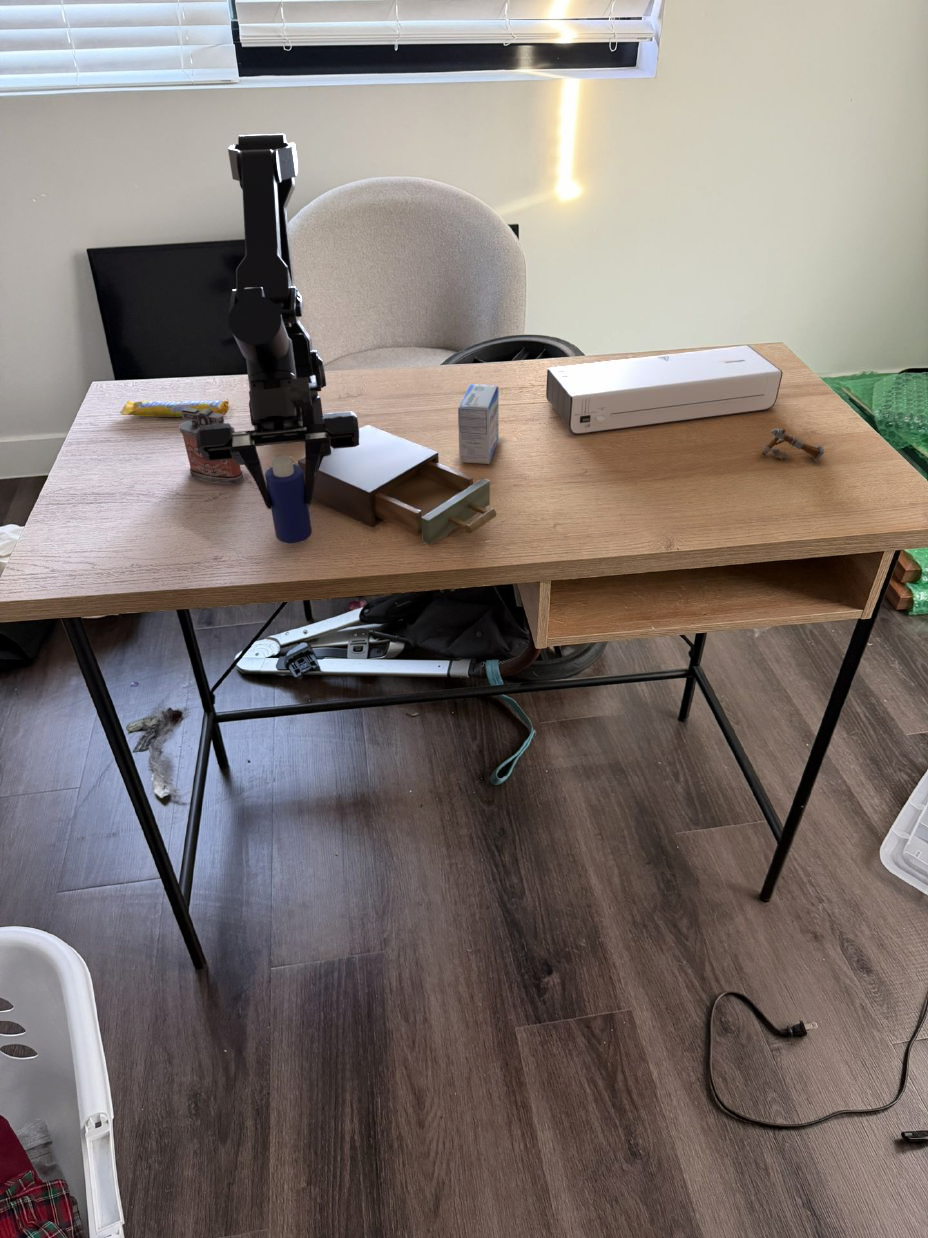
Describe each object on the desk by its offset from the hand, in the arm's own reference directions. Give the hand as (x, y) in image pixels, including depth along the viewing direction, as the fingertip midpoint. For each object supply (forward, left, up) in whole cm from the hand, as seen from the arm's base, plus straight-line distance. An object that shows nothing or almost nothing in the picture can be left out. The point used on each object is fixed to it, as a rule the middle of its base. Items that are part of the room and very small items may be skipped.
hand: (288, 506), depth 102 cm
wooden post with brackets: (+53, +47, -7) cm, 71 cm away
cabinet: (+1, +16, -6) cm, 18 cm away
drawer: (+13, +13, -6) cm, 19 cm away
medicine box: (+11, +32, -7) cm, 35 cm away
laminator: (+31, +56, -7) cm, 65 cm away
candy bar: (-38, +25, -7) cm, 46 cm away
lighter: (-20, +11, -7) cm, 24 cm away
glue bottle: (-1, +1, -5) cm, 5 cm away
